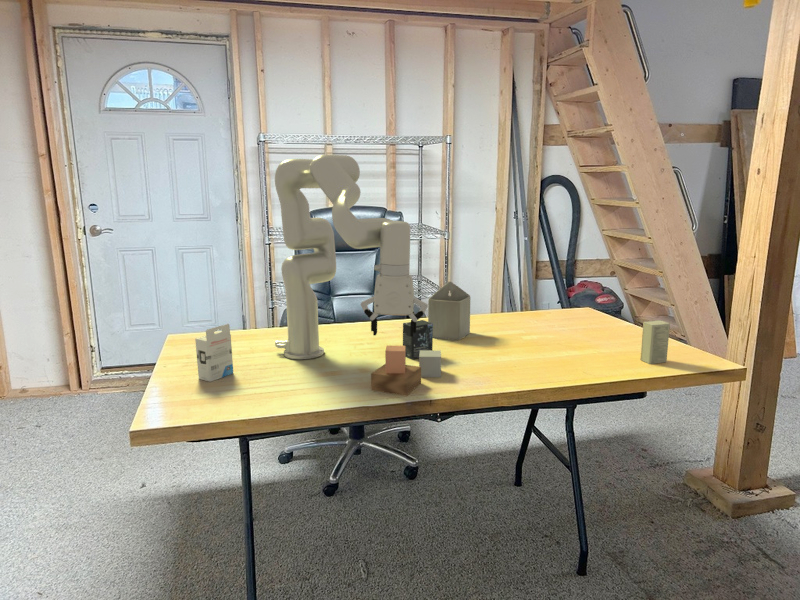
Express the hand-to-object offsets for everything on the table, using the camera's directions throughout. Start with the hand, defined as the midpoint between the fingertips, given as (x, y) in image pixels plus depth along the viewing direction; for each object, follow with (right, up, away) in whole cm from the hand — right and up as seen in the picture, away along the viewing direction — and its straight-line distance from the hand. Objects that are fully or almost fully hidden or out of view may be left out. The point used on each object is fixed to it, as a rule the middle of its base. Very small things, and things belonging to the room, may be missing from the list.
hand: (393, 334), depth 147 cm
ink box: (-50, -13, +11) cm, 53 cm away
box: (+7, -9, +29) cm, 31 cm away
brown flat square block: (+1, -14, +2) cm, 14 cm away
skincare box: (+78, -10, +22) cm, 82 cm away
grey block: (+10, -12, +13) cm, 20 cm away
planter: (+20, -4, +50) cm, 54 cm away
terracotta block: (+1, -9, +1) cm, 9 cm away
